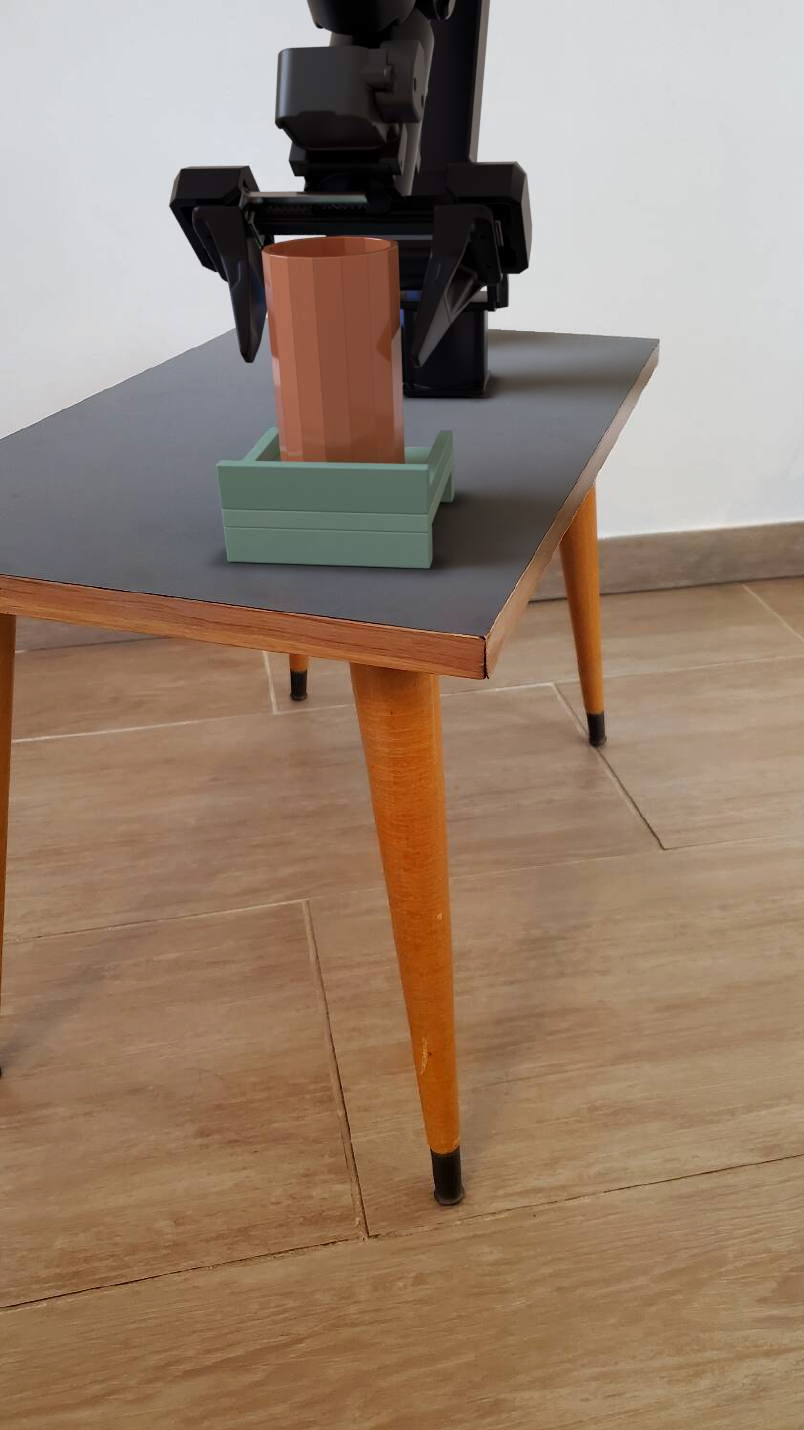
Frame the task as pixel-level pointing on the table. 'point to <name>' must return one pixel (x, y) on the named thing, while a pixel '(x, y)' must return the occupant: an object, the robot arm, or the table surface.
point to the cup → (336, 348)
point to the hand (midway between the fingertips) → (329, 360)
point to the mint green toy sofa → (334, 507)
